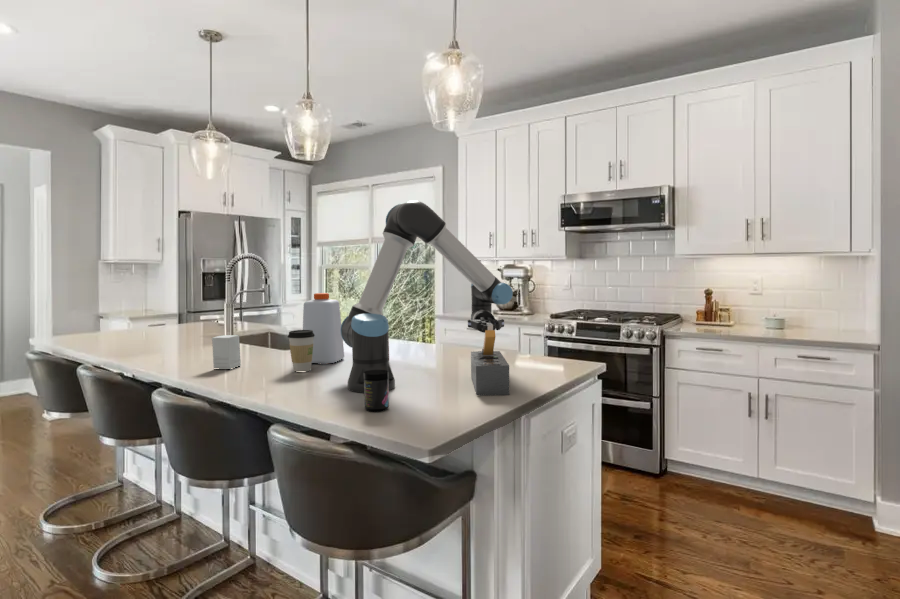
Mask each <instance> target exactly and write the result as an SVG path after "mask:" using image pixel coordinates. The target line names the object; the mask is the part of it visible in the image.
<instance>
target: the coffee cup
mask: <svg viewBox="0 0 900 599" xmlns="http://www.w3.org/2000/svg"><path fill="white" fill-rule="evenodd" d="M314 336H315V335H314V333H313V331H312V330H303V329H297V330H289V332H288V334H287V338H288V340H289V345H288V346H289V351H290V352H289V353H290V356H291V357H290V358H291V363H292V368H293V369H292V370H293V372H294V371H309V370H312V364H311V362H312V355H313V338H314ZM309 372H310V371H309Z"/></svg>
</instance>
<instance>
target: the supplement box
mask: <svg viewBox="0 0 900 599" xmlns="http://www.w3.org/2000/svg"><path fill="white" fill-rule="evenodd" d="M211 341H212V343H211V344H212V345H211V346H212V360H213V361H212V362H213V369H214V368H219V369H231V368H234V367H237V366H241V367H242V364H241V345H240V335H238V334H237V335H236V334H234V335H233V334H230V335H229V334H227V335H226V334H224V335H217V336H214V337H211Z"/></svg>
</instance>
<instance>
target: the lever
mask: <svg viewBox="0 0 900 599" xmlns="http://www.w3.org/2000/svg"><path fill="white" fill-rule="evenodd" d="M483 339H484V340H483V346H482V347H483V348H482V350H481V351H482V355H493V354H494V351H495V350H494V347H495V341H496V329H495V330H485V333H484V338H483Z"/></svg>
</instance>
